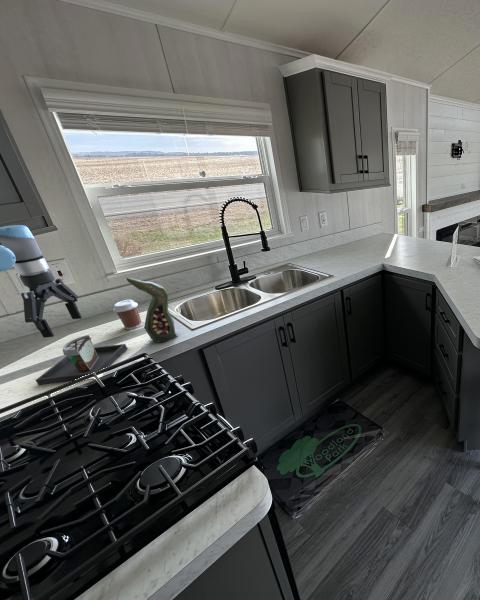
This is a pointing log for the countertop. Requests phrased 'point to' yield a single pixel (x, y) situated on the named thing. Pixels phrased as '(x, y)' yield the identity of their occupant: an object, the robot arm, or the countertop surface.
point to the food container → (81, 353)
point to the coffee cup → (128, 313)
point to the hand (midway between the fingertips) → (63, 327)
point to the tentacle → (156, 311)
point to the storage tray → (69, 372)
